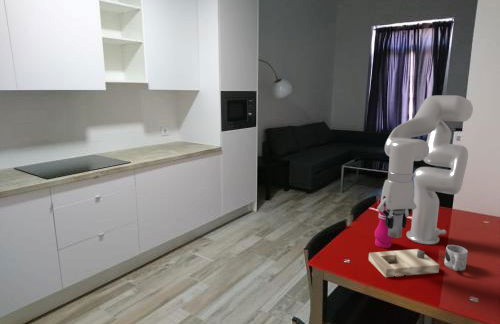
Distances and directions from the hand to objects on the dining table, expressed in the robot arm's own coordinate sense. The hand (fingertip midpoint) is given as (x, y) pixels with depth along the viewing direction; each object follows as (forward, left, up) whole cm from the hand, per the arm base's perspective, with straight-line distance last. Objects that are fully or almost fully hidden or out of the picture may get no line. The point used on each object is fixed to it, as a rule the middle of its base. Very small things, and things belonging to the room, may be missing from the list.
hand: (395, 226), depth 116 cm
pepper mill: (-6, -17, -16) cm, 24 cm away
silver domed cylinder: (0, 0, -3) cm, 3 cm away
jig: (-4, 0, -16) cm, 16 cm away
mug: (-22, +4, -16) cm, 28 cm away
